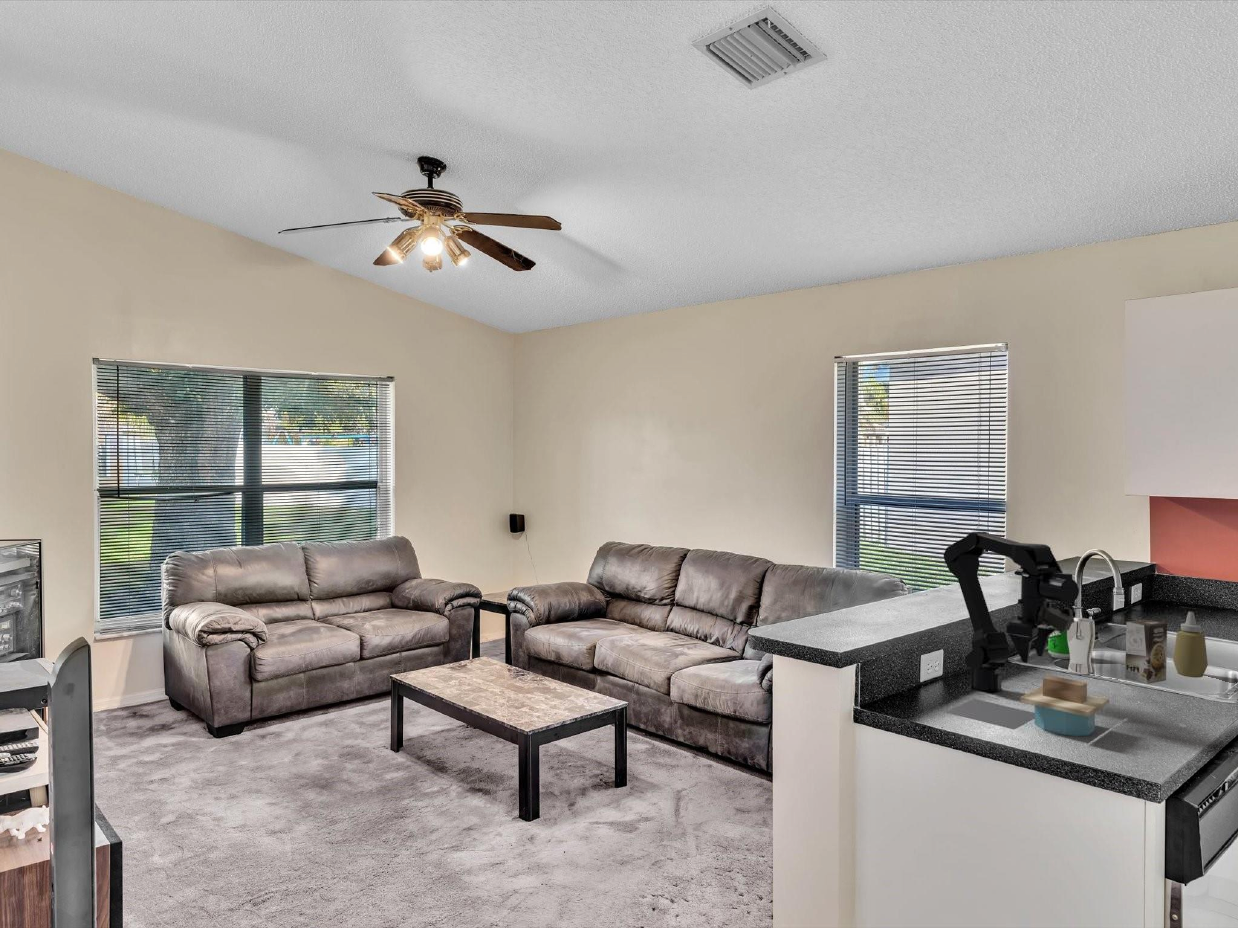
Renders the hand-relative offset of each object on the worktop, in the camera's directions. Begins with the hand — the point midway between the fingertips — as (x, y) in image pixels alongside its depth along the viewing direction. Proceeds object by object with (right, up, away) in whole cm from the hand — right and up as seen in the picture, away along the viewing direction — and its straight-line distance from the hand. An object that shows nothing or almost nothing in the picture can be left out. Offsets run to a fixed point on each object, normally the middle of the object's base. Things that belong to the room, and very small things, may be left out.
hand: (1032, 659), depth 198 cm
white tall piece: (+31, -12, +34) cm, 48 cm away
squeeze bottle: (+61, -12, +32) cm, 70 cm away
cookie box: (+45, -12, +27) cm, 54 cm away
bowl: (-1, -12, -15) cm, 20 cm away
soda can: (+35, -12, +52) cm, 64 cm away
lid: (-1, -6, -15) cm, 16 cm away
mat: (-12, -12, -6) cm, 18 cm away
